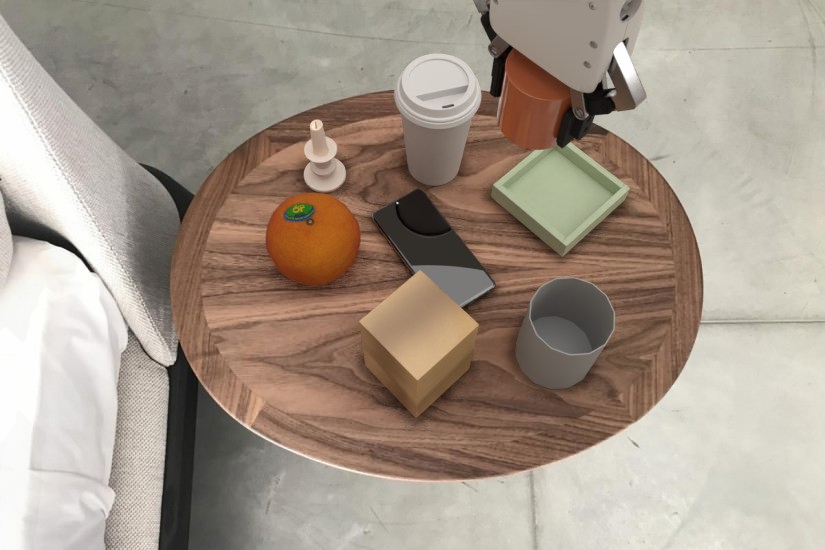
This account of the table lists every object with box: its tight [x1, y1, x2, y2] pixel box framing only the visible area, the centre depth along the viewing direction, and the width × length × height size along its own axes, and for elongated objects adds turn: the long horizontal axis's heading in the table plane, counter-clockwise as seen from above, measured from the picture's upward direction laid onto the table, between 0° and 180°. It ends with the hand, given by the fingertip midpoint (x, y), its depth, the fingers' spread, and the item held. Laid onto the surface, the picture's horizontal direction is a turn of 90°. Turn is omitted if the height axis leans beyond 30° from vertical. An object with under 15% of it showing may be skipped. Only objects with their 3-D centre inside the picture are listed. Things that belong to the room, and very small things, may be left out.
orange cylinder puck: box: [496, 48, 572, 151], centre depth 57 cm, size 6×6×6 cm
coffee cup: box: [393, 53, 482, 187], centre depth 83 cm, size 10×10×15 cm
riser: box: [358, 270, 480, 419], centre depth 73 cm, size 8×8×12 cm
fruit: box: [265, 192, 362, 287], centre depth 81 cm, size 11×10×8 cm
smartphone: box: [371, 188, 497, 310], centre depth 84 cm, size 7×1×16 cm
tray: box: [490, 141, 631, 258], centre depth 87 cm, size 12×12×3 cm
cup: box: [514, 276, 616, 390], centre depth 74 cm, size 8×8×10 cm
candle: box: [303, 119, 347, 194], centre depth 85 cm, size 5×5×10 cm
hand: (537, 110), depth 59 cm, fingers closed on orange cylinder puck, 6 cm apart
